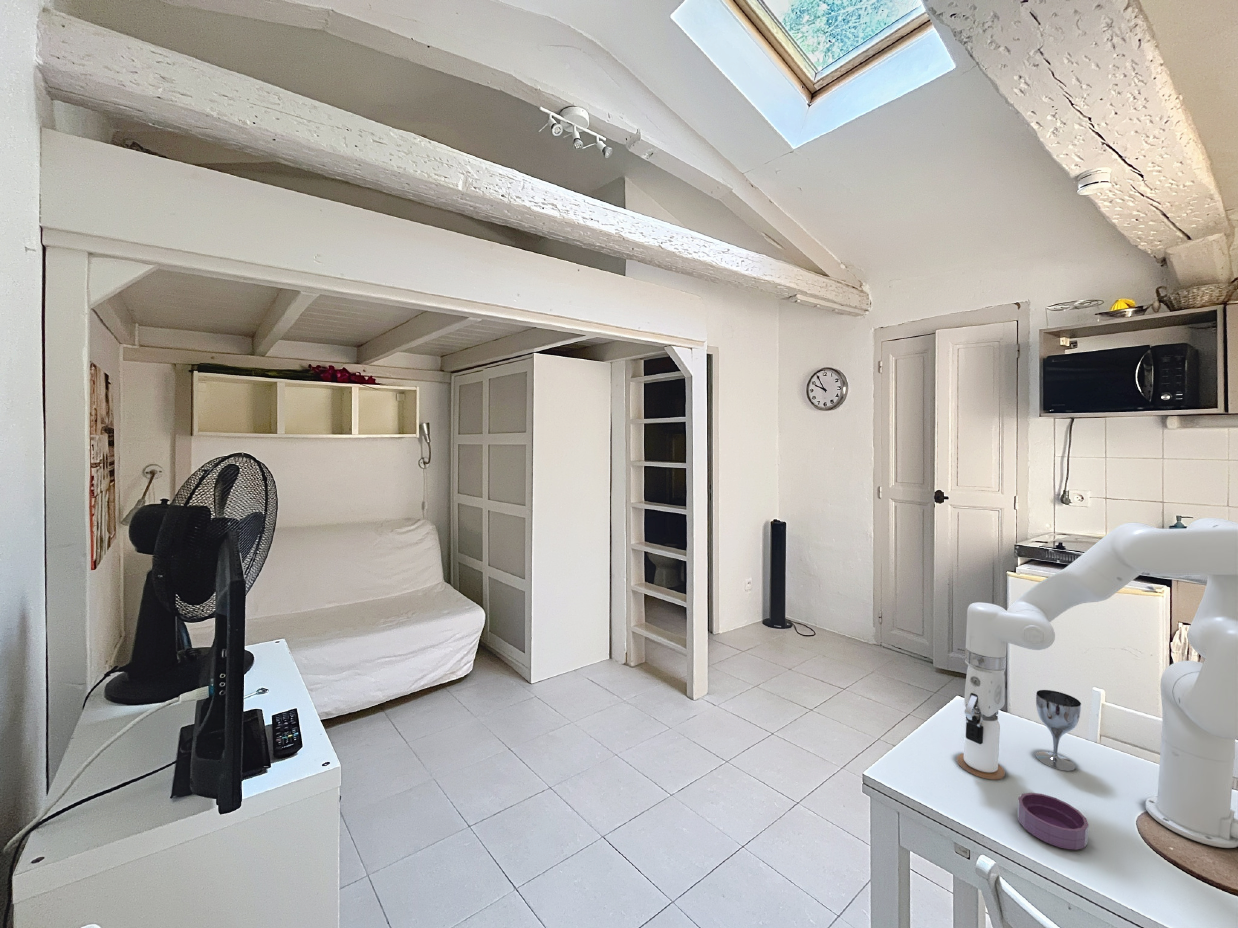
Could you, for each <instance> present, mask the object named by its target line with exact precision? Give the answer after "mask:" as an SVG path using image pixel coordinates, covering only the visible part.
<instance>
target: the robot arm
mask: <svg viewBox="0 0 1238 928" xmlns="http://www.w3.org/2000/svg"><path fill="white" fill-rule="evenodd" d="M1143 573H1146V574H1152V575H1166V576H1167V575H1168V576H1172V575H1173V576H1174V575H1175V576H1203V575H1204V576H1207V581H1206V585H1205V589H1204V593H1203V595H1202V598H1201V600H1200V603H1199V605H1198V607H1197V609H1196V612H1195V614H1194V617H1193V619H1192V621H1191V623H1190V626H1189V627H1188V630H1187V641H1188V643H1189V645H1190V646H1191V648H1192V649H1193V650H1194V651H1195V653H1197V654H1198V655H1200V656H1201V657H1202V658H1203V662H1200V661H1196V660H1180V661H1176V662H1173V663H1171V664H1170V665H1168V666H1167V667H1166V668H1165V669H1164V670H1163V672H1162V674H1161V677H1160V683H1159V684H1160V686H1159V687H1160V699H1161V713H1162V715H1161V716H1162V718H1161V719H1162V720H1161V721H1162V722H1161V737H1160V749H1159V750H1160V751H1159V765H1158V781H1157V795H1155V796H1150V797H1148V798H1146V800H1145V809H1146V812H1147V813H1148V814H1149V815H1150V816H1151V818H1153V819H1154V820H1155V821H1156V822H1158V823H1159V824H1160V825H1162V826H1164V827H1165V828H1166V829H1169V830H1170V831H1172V832H1174V833H1176V834H1178V835H1180V836H1182V837H1184V838H1186V839H1189V840H1192V841H1195V842H1198V843H1200V844H1204V845H1208V846H1211V847H1217V848H1222V849H1223V848H1224V849H1233V848H1237V847H1238V818H1235V810H1233V809H1231V808H1232V794H1233V780H1234V779H1233V778H1234V768H1235V767H1234V765H1235V757H1236V740H1238V522H1237V521H1233V520H1229V519H1226V518H1221V517H1202V518H1199V519H1196V520H1194V521H1192V522H1190V523H1189V524H1188V525H1187V526H1186V528H1158V527H1155V526H1153V525H1149V524H1146V523H1141V522H1126V523H1122V524H1120V525H1118V526H1116V527H1115V528H1114V529H1112V530H1111V531H1109V532H1108V533H1107V534H1106V535H1104V536H1103V537H1102V538H1101V539H1100V540H1098V541H1097V542H1096V543H1094V545H1092V546H1091V547H1090V548H1088V550H1086V551H1085V552H1084V553H1082V554H1081V555H1080V556H1079V557H1077V558H1076V559H1075V560H1073V561H1072V562H1071V563H1069V564H1068V565H1067V566H1066V567H1064V568H1063V569H1061V570H1059V571H1057V572H1055V573H1053V574H1052V575H1049V576H1048V577H1046V578H1045V579H1043V580H1041V581H1039V582H1038V583H1036V584H1034V585H1033V586H1032V587H1030V588H1029V589H1028V590H1026V591H1025V592H1024V593H1023V594H1022V595H1020V597H1018V598H1017V599H1015V601H1013V602H1012V603H1011V604H1010V605H1009V606H1008V608H1007V609H1005V608H1004V607H1002V606H1000V605H998V604H994V603H988V602H980V601H979V602H977V601H976V602H973V603H970V604H969V605H968V607H967V613H966V629H965V630H966V631H965V651H964V652H965V656H964V663H965V664H966V665H967V669H966V676H965V677H966V678H965V684H964V685H965V686H964V702H963V703H964V707H965V709H964V715H965V717H966V738H967V739H969V740H971V741H974V742H976V743H978V744H982V743H983V728H984V727H983V726H982V722H983V717H984V715H985V716H987V717H989V716H991V715H993V714H995V715H997V717H998V718H999V711H1000V710H1001V709H1002V708H1004V706H1005V703H1006V676H1005V672H1006V667H1007V666H1006V665H1007V650H1008V649H1007V647H1008V644H1011V645H1014V646H1017V647H1020V648H1024V649H1028V650H1033V651H1041V650H1046V649H1048V648H1050V647H1052V645H1053V644H1054V643H1055V641H1056V633H1055V629H1054V627H1053V625H1052V624H1051V623H1052V621H1054V620H1055V619H1057V618H1059V616H1061V615H1062V614H1063V613H1065V612H1066V611H1068V610H1070V609H1071V608H1074V607H1076V606H1079V605H1082V604H1091V603H1099V602H1103V601H1107V600H1108V599H1110V598H1111V597H1112V596H1114V595H1115V594H1116V593H1118V592H1120V590H1122V589H1123V588H1124V587H1126V586H1127V585H1128V584H1130V583H1131V582H1132V581H1134V580H1135V579H1136V578H1138V577H1139V576H1140V575H1142V574H1143ZM975 708H979V709H980V711H981V712H980V711H977V710H975ZM974 713H977V714H979V718H978V719H977V717H976V716H974Z"/></svg>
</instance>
